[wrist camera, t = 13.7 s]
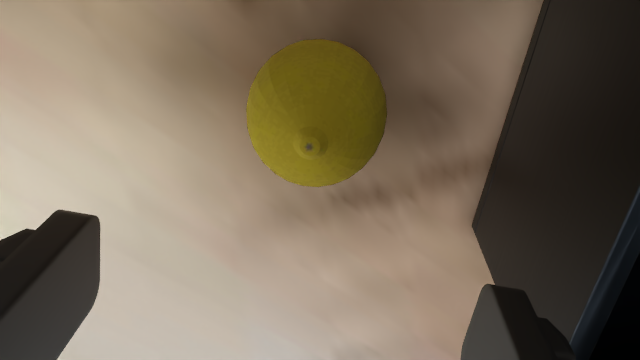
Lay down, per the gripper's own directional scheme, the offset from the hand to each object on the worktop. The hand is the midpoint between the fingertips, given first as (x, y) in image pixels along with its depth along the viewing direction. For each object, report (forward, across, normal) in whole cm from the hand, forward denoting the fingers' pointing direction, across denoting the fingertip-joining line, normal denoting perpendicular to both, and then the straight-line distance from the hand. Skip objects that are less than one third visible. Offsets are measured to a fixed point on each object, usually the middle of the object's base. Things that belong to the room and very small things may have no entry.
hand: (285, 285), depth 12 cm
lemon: (+16, 0, 0) cm, 16 cm away
